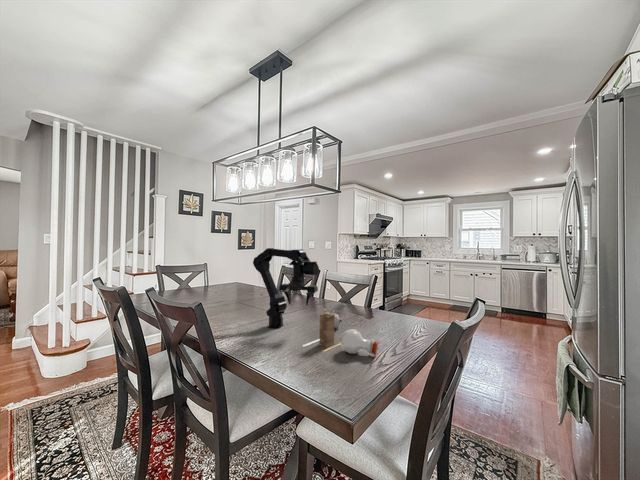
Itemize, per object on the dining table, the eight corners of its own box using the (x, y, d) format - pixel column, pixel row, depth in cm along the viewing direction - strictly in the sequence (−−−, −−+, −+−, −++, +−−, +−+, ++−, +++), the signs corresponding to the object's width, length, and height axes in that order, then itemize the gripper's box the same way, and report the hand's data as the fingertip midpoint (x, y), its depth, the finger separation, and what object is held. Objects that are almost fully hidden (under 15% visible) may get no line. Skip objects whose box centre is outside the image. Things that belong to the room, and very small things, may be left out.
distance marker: (324, 351, 111) (324, 351, 111) (322, 351, 111) (322, 351, 111) (344, 342, 121) (344, 342, 121) (342, 342, 122) (342, 341, 122)
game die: (335, 334, 143) (346, 318, 145) (335, 333, 135) (346, 316, 137) (321, 324, 145) (332, 308, 148) (320, 323, 137) (331, 306, 140)
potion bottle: (339, 352, 114) (375, 363, 108) (335, 345, 106) (372, 357, 100) (346, 331, 118) (380, 340, 112) (341, 323, 111) (378, 332, 105)
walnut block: (319, 344, 119) (319, 313, 119) (326, 341, 122) (326, 311, 122) (327, 347, 116) (327, 315, 116) (334, 344, 119) (334, 313, 119)
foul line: (304, 346, 116) (304, 346, 116) (301, 345, 117) (301, 345, 117) (331, 336, 129) (331, 336, 129) (328, 335, 130) (328, 335, 130)
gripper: (274, 275, 131) (274, 307, 131) (311, 277, 126) (310, 310, 126) (284, 272, 142) (283, 302, 142) (318, 274, 137) (317, 305, 136)
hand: (298, 305), depth 136 cm, fingers open, 9 cm apart
